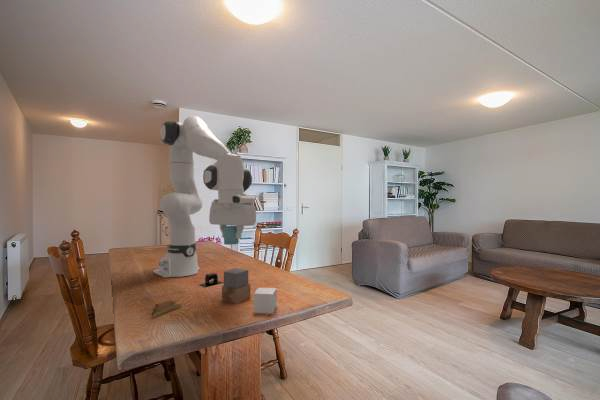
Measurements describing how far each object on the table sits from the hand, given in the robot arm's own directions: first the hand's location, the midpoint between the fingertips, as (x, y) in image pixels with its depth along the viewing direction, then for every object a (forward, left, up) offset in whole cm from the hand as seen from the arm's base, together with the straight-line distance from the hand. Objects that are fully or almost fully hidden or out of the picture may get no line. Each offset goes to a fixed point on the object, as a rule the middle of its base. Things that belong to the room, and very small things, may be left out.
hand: (231, 238), depth 96 cm
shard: (-10, -17, -22) cm, 30 cm away
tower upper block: (+1, +1, -17) cm, 17 cm away
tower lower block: (+1, +2, -22) cm, 22 cm away
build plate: (-22, +9, -22) cm, 32 cm away
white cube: (+16, -1, -22) cm, 27 cm away
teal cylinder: (0, 0, -2) cm, 2 cm away
